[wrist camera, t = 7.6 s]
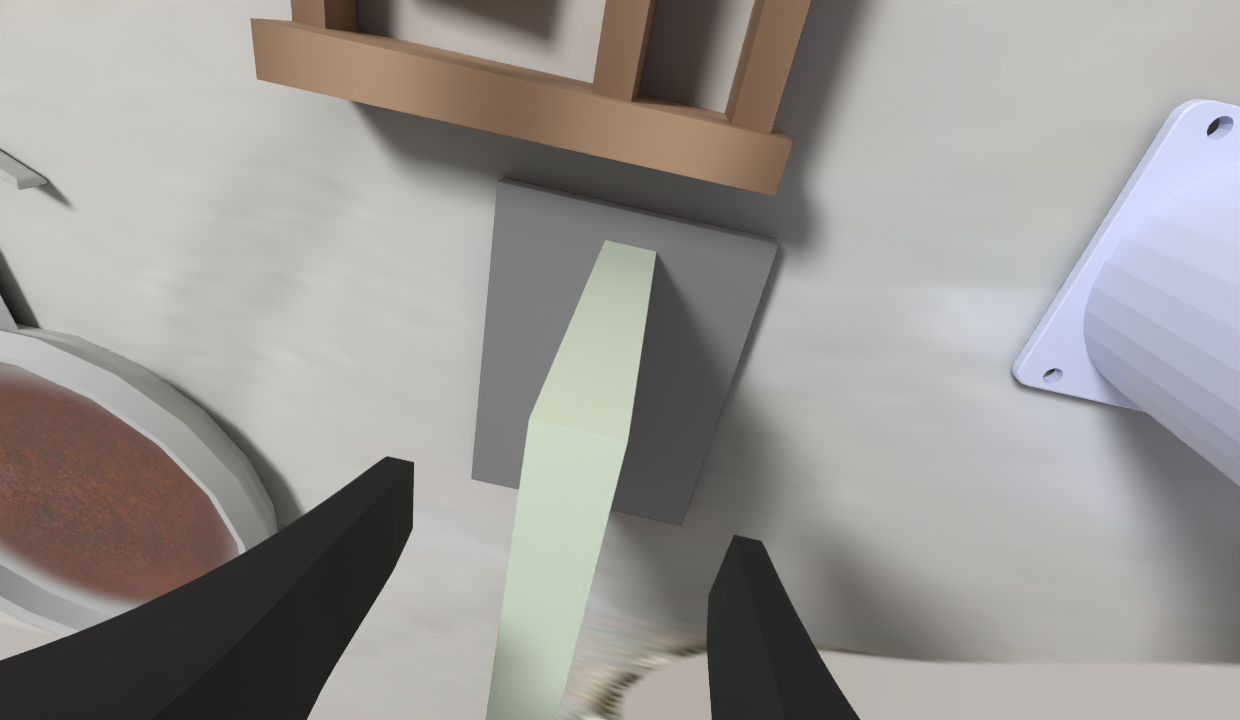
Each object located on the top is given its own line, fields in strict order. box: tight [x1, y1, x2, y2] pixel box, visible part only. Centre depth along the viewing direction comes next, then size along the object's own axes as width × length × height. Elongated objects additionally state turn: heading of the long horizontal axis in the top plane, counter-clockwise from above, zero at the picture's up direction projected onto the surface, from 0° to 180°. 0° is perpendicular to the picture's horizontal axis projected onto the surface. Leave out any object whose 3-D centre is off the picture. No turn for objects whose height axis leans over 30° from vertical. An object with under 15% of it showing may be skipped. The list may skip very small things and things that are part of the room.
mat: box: [471, 178, 779, 526], centre depth 19 cm, size 8×11×1 cm
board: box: [486, 240, 656, 720], centre depth 15 cm, size 2×9×9 cm, turn 169°
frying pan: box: [0, 151, 278, 638], centre depth 21 cm, size 17×3×28 cm
